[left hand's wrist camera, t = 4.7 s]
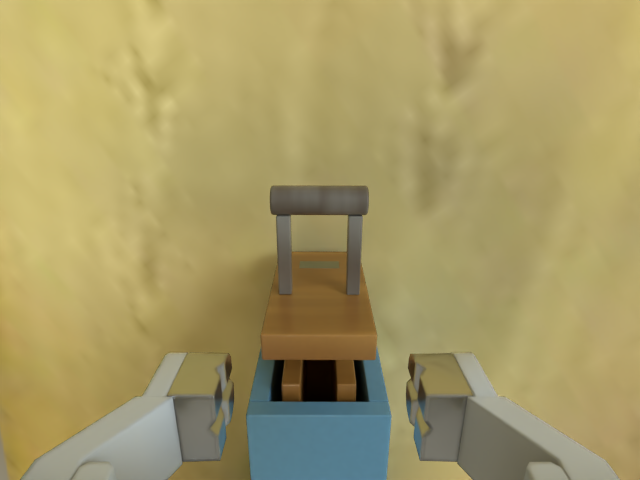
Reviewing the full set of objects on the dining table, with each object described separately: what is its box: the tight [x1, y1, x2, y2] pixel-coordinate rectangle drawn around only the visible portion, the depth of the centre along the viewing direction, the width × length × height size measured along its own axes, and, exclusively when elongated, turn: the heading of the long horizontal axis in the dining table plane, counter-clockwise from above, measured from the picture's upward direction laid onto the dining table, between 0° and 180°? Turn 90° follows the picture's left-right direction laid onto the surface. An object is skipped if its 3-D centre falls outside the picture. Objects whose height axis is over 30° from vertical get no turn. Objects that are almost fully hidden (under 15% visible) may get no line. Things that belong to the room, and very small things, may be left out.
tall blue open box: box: [246, 348, 391, 480], centre depth 25 cm, size 19×6×10 cm, turn 0°
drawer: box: [261, 186, 377, 402], centre depth 23 cm, size 23×4×8 cm, turn 0°
